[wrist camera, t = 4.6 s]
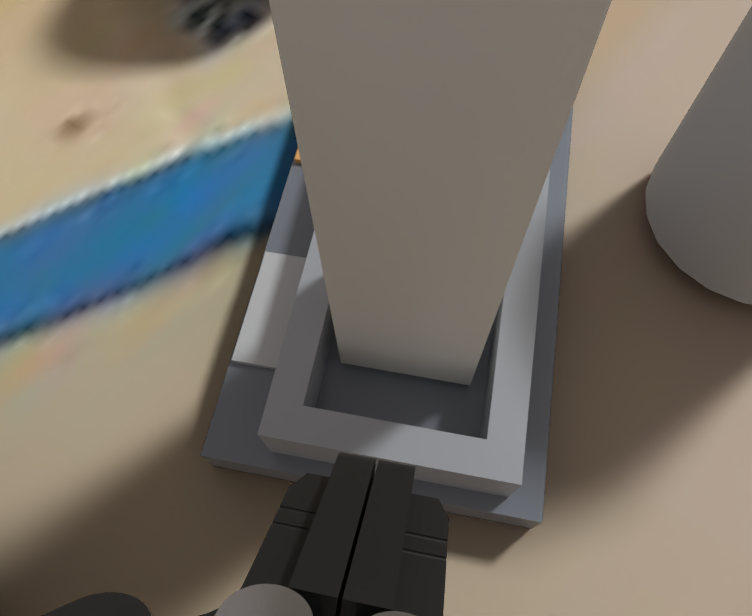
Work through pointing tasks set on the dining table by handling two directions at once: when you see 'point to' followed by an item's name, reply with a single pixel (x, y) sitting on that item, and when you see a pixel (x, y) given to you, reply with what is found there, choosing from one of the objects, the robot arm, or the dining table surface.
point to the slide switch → (396, 378)
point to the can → (711, 179)
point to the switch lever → (427, 159)
